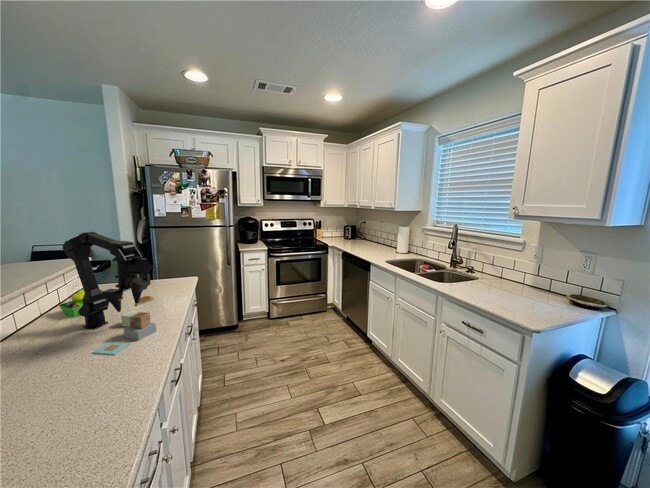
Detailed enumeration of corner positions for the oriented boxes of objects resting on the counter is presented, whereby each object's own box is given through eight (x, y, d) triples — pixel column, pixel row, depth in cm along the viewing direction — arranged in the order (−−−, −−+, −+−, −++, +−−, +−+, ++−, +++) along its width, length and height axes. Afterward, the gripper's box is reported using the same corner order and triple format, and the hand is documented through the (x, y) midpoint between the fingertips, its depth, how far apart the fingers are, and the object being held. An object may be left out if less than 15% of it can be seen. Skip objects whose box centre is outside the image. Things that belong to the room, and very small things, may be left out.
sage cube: (122, 326, 120) (121, 315, 119) (131, 321, 125) (130, 311, 124) (132, 326, 119) (131, 316, 119) (141, 322, 124) (140, 311, 124)
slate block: (124, 337, 111) (123, 328, 110) (142, 329, 118) (142, 320, 118) (138, 341, 108) (138, 332, 108) (156, 332, 116) (155, 323, 115)
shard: (136, 306, 142) (136, 303, 142) (126, 304, 144) (126, 301, 144) (155, 299, 152) (154, 297, 152) (145, 298, 154) (145, 295, 154)
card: (92, 353, 99) (92, 351, 99) (109, 343, 106) (109, 341, 105) (115, 355, 98) (114, 353, 98) (130, 345, 105) (130, 343, 105)
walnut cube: (130, 328, 111) (129, 317, 110) (139, 322, 116) (138, 312, 115) (141, 329, 110) (140, 317, 110) (150, 323, 115) (149, 312, 114)
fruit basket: (58, 314, 129) (55, 292, 127) (81, 308, 137) (78, 287, 135) (72, 319, 125) (69, 296, 123) (94, 312, 133) (92, 290, 131)
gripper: (125, 280, 101) (128, 318, 104) (159, 268, 119) (161, 301, 122) (98, 277, 102) (101, 316, 105) (136, 266, 120) (138, 298, 123)
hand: (128, 307), depth 114 cm, fingers open, 9 cm apart
